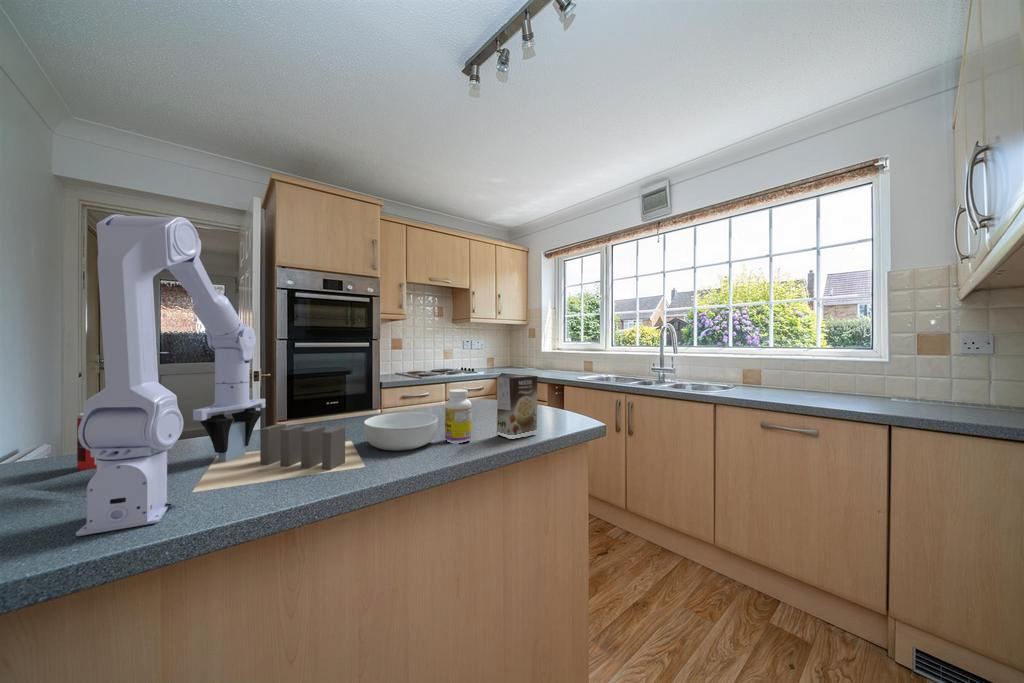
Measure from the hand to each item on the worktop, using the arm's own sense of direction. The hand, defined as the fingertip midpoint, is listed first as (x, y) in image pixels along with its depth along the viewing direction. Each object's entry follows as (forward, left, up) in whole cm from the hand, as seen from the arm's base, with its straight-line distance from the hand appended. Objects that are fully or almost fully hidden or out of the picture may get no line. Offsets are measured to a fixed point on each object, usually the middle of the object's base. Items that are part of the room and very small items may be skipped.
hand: (232, 448), depth 78 cm
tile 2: (-6, -7, -2) cm, 10 cm away
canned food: (+8, +21, -3) cm, 23 cm away
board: (-8, -10, -3) cm, 13 cm away
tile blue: (0, 0, -2) cm, 2 cm away
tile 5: (-15, -18, -2) cm, 23 cm away
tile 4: (-12, -14, -2) cm, 19 cm away
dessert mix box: (-8, -63, -3) cm, 64 cm away
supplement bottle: (-6, -47, -3) cm, 47 cm away
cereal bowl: (-6, -33, -3) cm, 34 cm away
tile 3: (-9, -11, -2) cm, 14 cm away
